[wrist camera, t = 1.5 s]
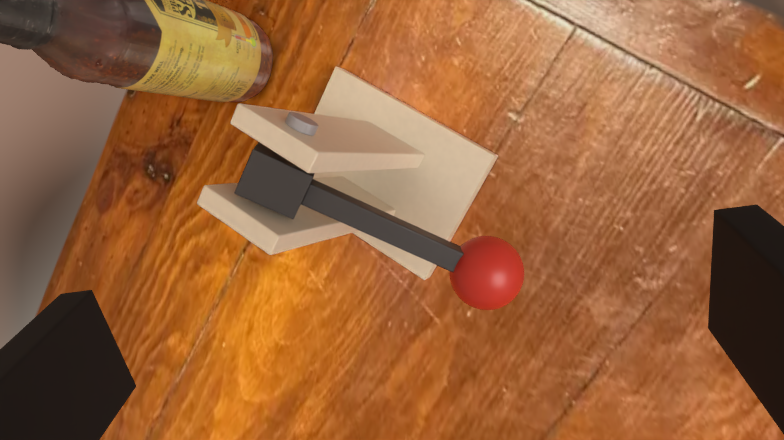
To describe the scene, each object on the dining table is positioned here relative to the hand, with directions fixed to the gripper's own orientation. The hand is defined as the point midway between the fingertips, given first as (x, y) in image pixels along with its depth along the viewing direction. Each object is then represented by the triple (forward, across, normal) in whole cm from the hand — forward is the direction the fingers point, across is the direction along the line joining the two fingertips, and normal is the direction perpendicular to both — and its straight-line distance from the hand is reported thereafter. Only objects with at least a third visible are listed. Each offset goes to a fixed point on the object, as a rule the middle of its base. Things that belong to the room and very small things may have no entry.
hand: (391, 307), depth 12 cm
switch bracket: (+26, -3, -6) cm, 26 cm away
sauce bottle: (+31, -13, +2) cm, 34 cm away
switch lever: (+16, -2, -5) cm, 17 cm away
